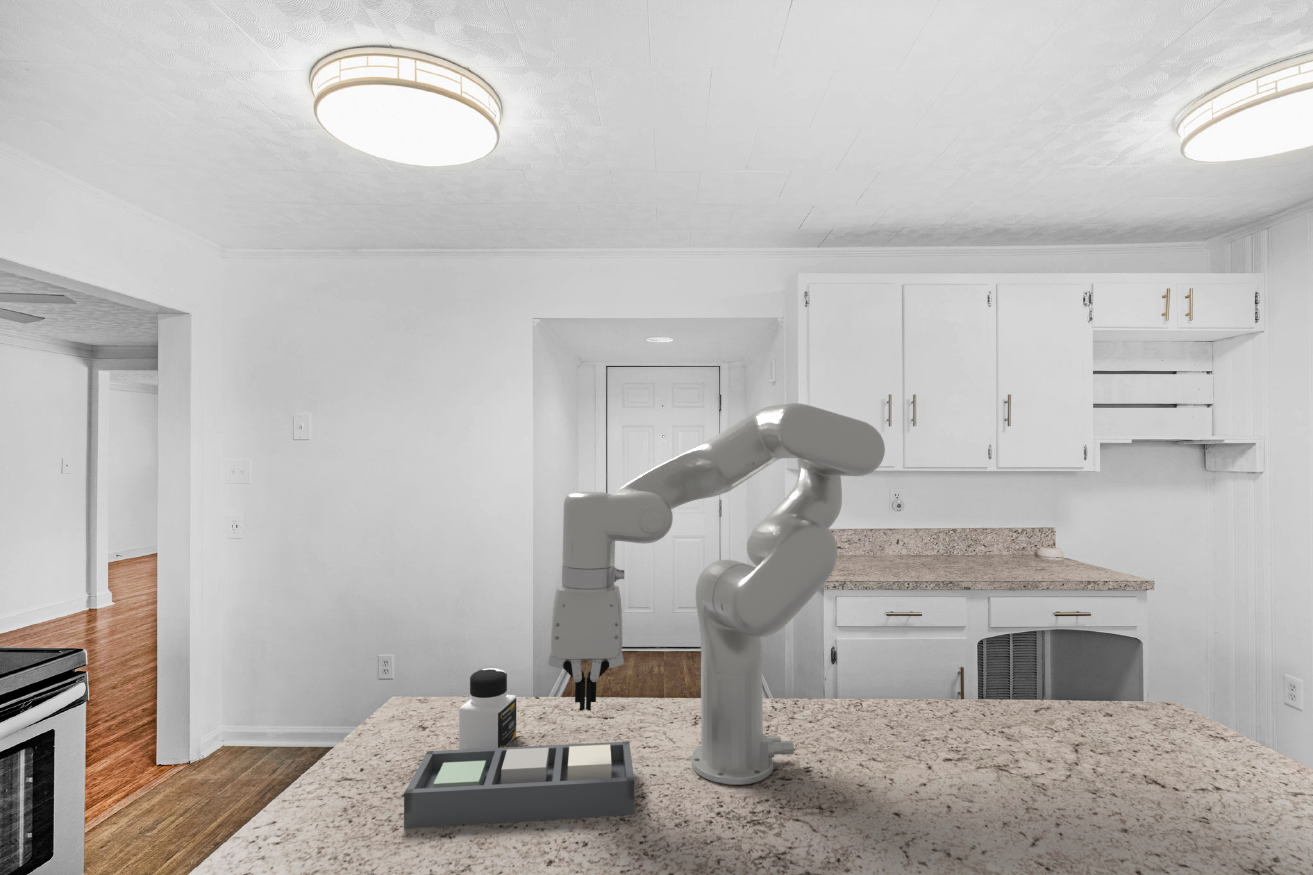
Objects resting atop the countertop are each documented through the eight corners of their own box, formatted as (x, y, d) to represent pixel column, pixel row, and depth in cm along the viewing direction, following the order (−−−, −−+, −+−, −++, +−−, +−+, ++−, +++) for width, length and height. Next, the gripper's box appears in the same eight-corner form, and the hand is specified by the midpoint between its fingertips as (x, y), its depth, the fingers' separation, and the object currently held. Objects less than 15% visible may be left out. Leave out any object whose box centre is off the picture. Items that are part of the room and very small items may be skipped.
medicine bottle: (498, 755, 104) (499, 680, 104) (458, 751, 105) (458, 677, 106) (517, 736, 111) (517, 666, 111) (478, 733, 112) (479, 663, 113)
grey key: (548, 761, 94) (548, 747, 95) (545, 781, 88) (545, 767, 89) (507, 763, 94) (507, 749, 94) (501, 784, 88) (501, 769, 88)
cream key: (610, 758, 95) (610, 744, 95) (611, 778, 89) (611, 763, 89) (569, 760, 95) (569, 746, 95) (567, 780, 89) (567, 765, 89)
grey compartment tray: (629, 771, 99) (629, 741, 99) (634, 814, 87) (634, 780, 87) (427, 781, 96) (427, 751, 96) (403, 828, 84) (404, 793, 84)
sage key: (486, 774, 94) (486, 760, 94) (478, 796, 88) (478, 781, 88) (443, 776, 93) (443, 762, 93) (433, 798, 87) (433, 783, 87)
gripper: (638, 573, 97) (635, 696, 97) (537, 573, 96) (534, 698, 95) (642, 582, 90) (639, 716, 89) (533, 582, 88) (529, 718, 88)
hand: (585, 706), depth 92 cm, fingers closed
